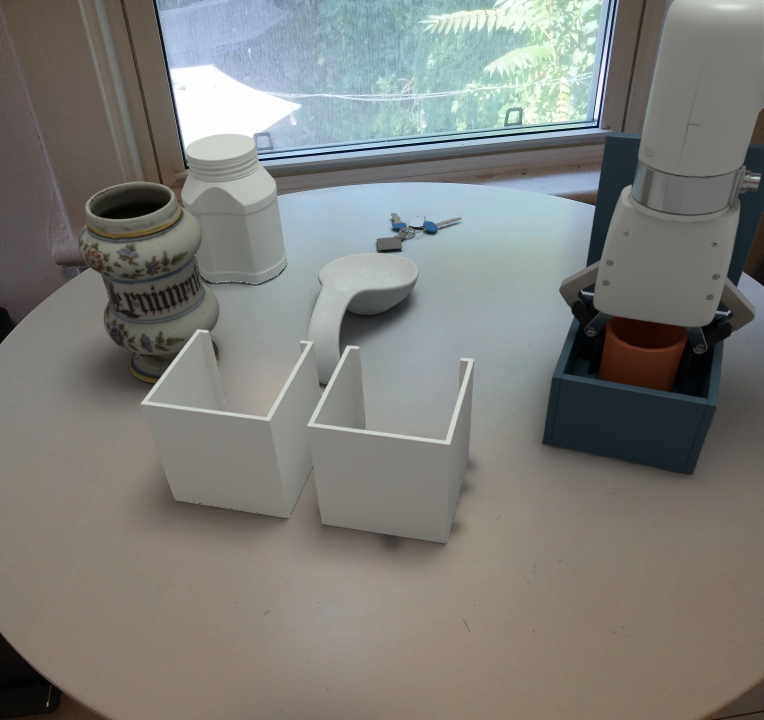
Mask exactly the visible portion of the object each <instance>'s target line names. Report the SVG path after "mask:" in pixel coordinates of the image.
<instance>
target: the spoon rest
mask: <svg viewBox="0 0 764 720" xmlns="http://www.w3.org/2000/svg"><path fill="white" fill-rule="evenodd" d="M419 276H420V270H419V267H418V265H417V264H416V263H415V262H414V261H412V260H411V259H409V258H407V257H405V256H401V255H397V254H393V253H383V252H360V253H352V254H346V255H344V256H341V257H338V258H335V259H333V260H331V261H329V262H327V263H326V264H325V265H324V266H322V267H321V268H320V270H319V272H318V274H317V280H318V282H319V285H320V286H321V289H320V292H319V294H318V296H317V299H316V301H315V304H314V306H313V311H312V314H311V317H310V320H309V324H308V327H307V331H306V336H305V339H304V341H311V342H314V349H315V357H316V364H317V372H318V380H319V384H324V385H328V383H329V381H330V379H331V377H332V375H333V373H334V371H335V369H336V367H337V365H338V363H339V361H340V359H341V352H340V351H341V350H340V332H341V326H342V323H343V318H344V316H345V313H346V311H349V312H351V313H353V314H355V315H360V316H373V315H378V314H379V315H380V314H382V313H385V312H386V311H389V310H390V309H391V308H393V307H394V306H397V305H398V304H399V303H401V302H402V301H403V300H405V298H407V297H408V296H409V294H410V293H411V292H412V291H413V289H414V287H415V285H416V284H417V281H418V279H419Z"/></svg>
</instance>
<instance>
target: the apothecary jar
mask: <svg viewBox="0 0 764 720" xmlns="http://www.w3.org/2000/svg"><path fill="white" fill-rule="evenodd" d="M84 210H85V212H84V213H85V216H86V223H85V225H84V226H83V227H82V230H81V232H80V234H79V238H78V243H77V244H78V251H79V254H80V256H81V259H82V260H83V262H84V263H85V264H86V265H87V266H88V267H89V268H90V269H92V270H93V271H95V272H97V273H99V274H100V275H101V278H102V281H103V284H104V287H105V291H106V293H107V298H108V302H107V304H106V306H105V309H104V311H103V312H104V313H103V325H104V328H105V331H106V333H107V335H108V336H109V338H110V339H111V341H113V343H115V344H116V345H117V346H118V347H120V348H123V349H125V350H127V351H129V352H132V355H131V357H130V359H129V370H130V371H131V373H132V374H133V375H134V376H135V377H136V378H137V379H139V380H141V381H143V382H146V383H150V384H154V385H155V384H156V383H157V382H158V380H159V379H160V378H161V376H162V375H163V374H164V372H165V371H166V370H167V369H168V367H169V366H170V365H171V363H172V362H173V361H174V359H175V358H176V357H177V355H178V354H179V353H180V351H181V350H182V349H183V348H184V346H185V345H186V344H187V342H188V341H189V340H190V338H191V337H192V336H193V334H194V333H195V332H196V330H197V329H200V330H209V333H210V334H211V332H212V331H213V330H214V329H215V327H216V325H217V323H218V320H219V317H220V303H219V300H218V297H217V296H216V294H215V293H214V291H213V290H212V289H211V288H210V287H209V286H208V285H207V284H205V283H203V282H202V279H201V275H200V272H199V268H198V263H197V259H196V253H197V251H198V249H199V247H200V244H201V240H202V231H201V227H200V225H199V223H198V221H197V220H196V218H195V217H194V216H193V215H192V214H191V213H190V212H189V211H187V210H186V209H185V207H183V206H181V205H180V203H179V202H178V198H177V195H176V193H175V192H174V190H173V189H172V188H170V187H169V186H167V185H164V184H161V183H159V182H154V181H130V182H125V183H119V184H116V185H112V186H108V187H106V188H104V189H102V190H99V191H97V192H96V193H95V194H93V195H92V196H91V197H90V198H88V200H87V201H86V203H85V206H84ZM211 341H212V345H213V349H214V353H215V357H216V361H218V360H219V356H220V349H219V347H218V344H217V343H216V342H215V341H214V340H213V339H212V338H211Z"/></svg>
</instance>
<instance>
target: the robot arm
mask: <svg viewBox="0 0 764 720" xmlns="http://www.w3.org/2000/svg"><path fill="white" fill-rule="evenodd" d="M665 16H666V17H665V19H664V20H665V21H664V25H663V29H662V33H661V39H660V44H659V47H658V48H659V49H658V53H657V57H656V58H657V59H656V64H655V68H654V73H653V79H652V83H651V88H650V93H649V97H648V102H647V108H646V113H645V118H644V123H643V128H642V132H641V134H642V137H641V142H640V147H639V153H638V157H637V162H636V167H635V172H634V177H633V182H632V185H629V186H627V187H625V188H624V189H623V190H622V192H621V195H620V197H619V199H618V202H617V204H616V207H615V210H614V213H613V216H612V219H611V223H610V226H609V230H608V233H607V237H606V241H605V245H604V249H603V253H602V257H601V260H600V261H598V262H596V263H594V264H592V265H590V266H589V267H587V268H586V267H584V268H583V269H581V270H579V271H578V272H575V273H574V274H572V275H570V276H568V277H566V278H564V279H563V280H562V281H561V283H560V286H559V289H558V292H559V293H560V295H561V297H562V298H563V300H564V301H565V303H566V305H567V306H568V307H569V308H570V312H571V314H572V316H573V317H574V316H575V318H576V319H577V320H578V321H579V322H580V324H581V325H582V326H583V327H584V329H585V330H584V332H585V334H586V335H587V340H586V345H585V351H584V356H583V360H586V361H590V362H589V368H588V373H587V374H591V375H593V373H594V374H595V373H596V370H597V365H598V360H599V355H600V350H601V346H602V341H603V336H604V329H605V325H606V324H607V323H608V322H609V321H610V320H611V319H612V318H613V317H614V316H617V317H623V318H629V319H636V320H642V321H648V322H655V323H662V324H669V325H675V326H683V327H685V329H686V332H687V335H688V341H687V344H686V347H685V350H684V353H683V357H682V360H681V363H680V367H679V370H678V373H677V377H676V380H675V386H674V388H676V389H677V390H682V389H683V386H684V382H685V379H686V378H692V379H693V378H694V375H695V372H696V369H697V366H698V363H699V360H700V356H701V354H703V353H705V352H706V351H707V348H709V347H711V346H713V345H715V344H717V343H718V342H720V341H722V340H724V341H725V340H726V339H728V338H729V337H730V336H731V335H732V334H733V333H734V332H738V331H739V330H740V329H742V328H743V327H745V326H747V325H749V324H750V323H751V322H753V321H754V320H755V318H756V306H755V305H754V304H753V303H752V302H751V301H750V300H749V299H748V298H747V297H746V295H745V294H744V293H743V292H741V290H740V289H739V288H738V286H737V287H736V286H735V285H734V284H733V283H732V282H731V281H730V280H729V279H728V278H727V273H728V269H729V265H730V261H731V257H732V253H733V248H734V243H735V238H736V232H737V228H738V222H739V214H740V200H739V199H738V198H737V197H738V195H739V193H743V194H744V193H745V192H752V193H756V191H757V188H758V185H759V181H760V177H761V174H760V173H751V171H750V170H746V166H743V163H744V160H745V156H746V153H747V150H748V146H749V143H751V140H752V138H753V137H752V136H753V133H754V130H755V127H756V123H757V120H758V118H759V117H758V116H759V113H760V112H761V111H763V110H764V0H672V2H671V4H670V6H669V8H668V10H667V12H666V15H665ZM594 283H596V284H595V290H594V293H593V296H594V298H593V304H594V307H595V308H594V307H593V305H592V304H591V303H590V302H589V300H588V299H587V298H586V297H584V296H583V295H582V294H583V292H582V290H583V289H585V288H587V287H589V286H590V285H592V284H594ZM720 301H721V302H722V303H723V304H724V305H725V306H726V307H727V308H728V309H729V311H730V312H728V314H726V315H727V316H726V317H722V318H720V319H718V320H716V321H714V322H712V323H711V321H712V320H713V318H714V316H715V313H717V312H718V311H717V308H718V305H719V302H720ZM709 323H710V324H709ZM708 324H709V325H708Z"/></svg>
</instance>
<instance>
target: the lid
mask: <svg viewBox="0 0 764 720" xmlns="http://www.w3.org/2000/svg"><path fill="white" fill-rule="evenodd" d="M641 137H642V133H633V132H618V131H611V130H610V131H607V133H606V136H605V140H604V141H605V142H604V146H603V147H604V148H603V154H602V159H601V167H600V172H599V173H600V174H599V180H598V187H597V193H596V199H595V205H594V214H593V219H592V226H591V232H590V238H589V245H588V251H587V258H586V262H585V263H586V265H585V268H587V267H589V266H590V265H592V264H594V263H596V262H598V261H600V260H601V257H602V253H603V249H604V245H605V241H606V237H607V233H608V230H609V226H610V223H611V219H612V216H613V213H614V210H615V207H616V204H617V202H618V199H619V197H620V195H621V192H622V190H623V189H624V188H625V187H627V186H629V185H632V182H633V177H634V172H635V167H636V162H637V157H638V153H639V147H640V142H641ZM743 166H746V170H750V171H751V173H760V174H761V177H760V181H759V185H758V188H757V191H756V193H752V192H745V193H744V194H743V193H739V195H738V197H737V198H738V199H739V200H740V214H739V222H738V228H737V232H736V238H735V243H734V248H733V253H732V257H731V261H730V265H729V269H728V273H727V278H728V279H729V280H730V281H731V282H732V283H733V284H734V285H735V286H736V287H737V288H738V286H739V283H740V280H741V277H742V274H743V271H744V268H745V266H746V262H747V260H748V257H749V255H750V252H751V249H752V246H753V244H754V240H755V237H756V235H757V232H758V229H759V226H760V224H761V221H762V218H763V215H764V143H752V142H750V143H749V146H748V150H747V153H746V156H745V160H744V163H743ZM595 284H596V283H594V284H592V285H590V286H589V287H587V288H585V289H583V290H581V292H582V293H589V294H594V290H595ZM729 311H730V310H729V309H728V308H727V307H726V306H725V305H724V304H723V303H722V302H721V301H720V302H719V305H718V308H717V311H716V312H721V313H729Z"/></svg>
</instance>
